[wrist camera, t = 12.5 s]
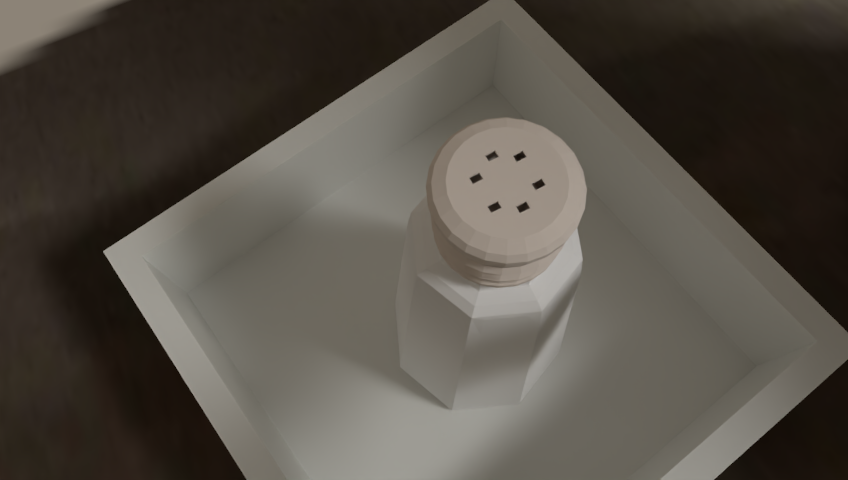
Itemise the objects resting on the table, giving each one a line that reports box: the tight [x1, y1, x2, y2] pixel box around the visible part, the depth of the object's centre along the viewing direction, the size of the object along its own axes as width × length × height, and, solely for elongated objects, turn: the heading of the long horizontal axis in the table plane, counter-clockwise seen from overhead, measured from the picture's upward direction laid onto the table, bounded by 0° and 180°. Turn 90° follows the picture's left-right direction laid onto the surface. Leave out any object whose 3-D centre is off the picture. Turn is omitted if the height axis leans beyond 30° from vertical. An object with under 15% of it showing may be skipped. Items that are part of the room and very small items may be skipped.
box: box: [103, 0, 848, 480], centre depth 21 cm, size 15×15×4 cm
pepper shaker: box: [395, 117, 587, 410], centre depth 17 cm, size 5×5×11 cm
